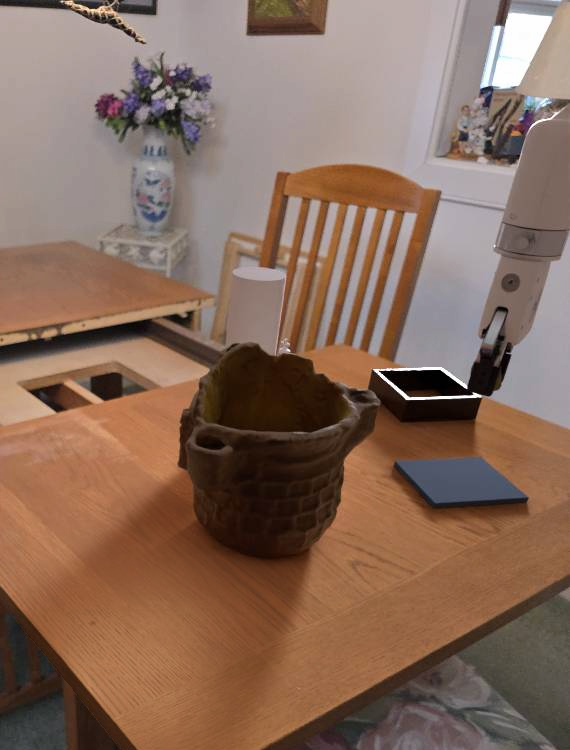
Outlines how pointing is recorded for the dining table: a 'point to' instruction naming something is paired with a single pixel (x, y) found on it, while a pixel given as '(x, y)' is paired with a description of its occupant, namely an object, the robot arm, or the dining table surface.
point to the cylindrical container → (255, 307)
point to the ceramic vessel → (270, 449)
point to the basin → (405, 409)
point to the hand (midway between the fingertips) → (484, 385)
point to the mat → (459, 482)
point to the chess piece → (284, 347)
